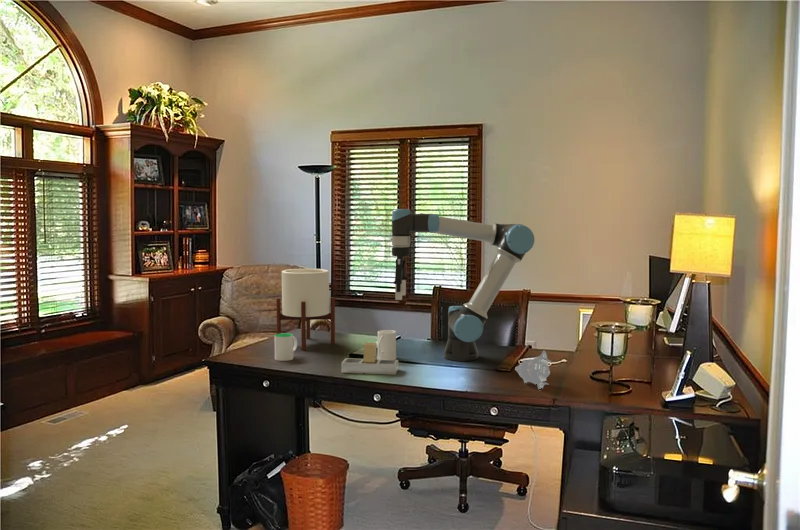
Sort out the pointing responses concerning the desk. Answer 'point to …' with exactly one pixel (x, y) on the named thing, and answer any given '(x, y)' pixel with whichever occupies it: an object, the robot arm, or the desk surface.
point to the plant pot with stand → (305, 300)
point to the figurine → (535, 370)
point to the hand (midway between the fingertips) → (400, 297)
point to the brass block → (370, 353)
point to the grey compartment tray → (369, 366)
